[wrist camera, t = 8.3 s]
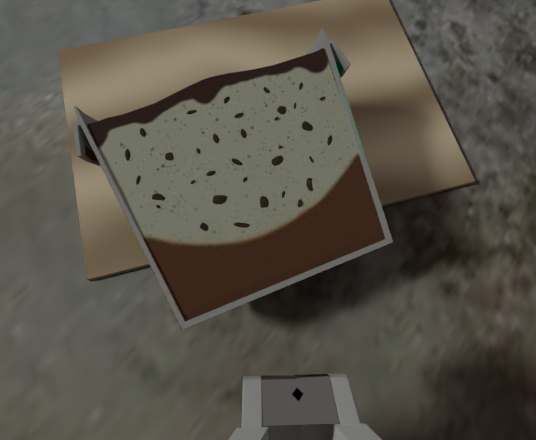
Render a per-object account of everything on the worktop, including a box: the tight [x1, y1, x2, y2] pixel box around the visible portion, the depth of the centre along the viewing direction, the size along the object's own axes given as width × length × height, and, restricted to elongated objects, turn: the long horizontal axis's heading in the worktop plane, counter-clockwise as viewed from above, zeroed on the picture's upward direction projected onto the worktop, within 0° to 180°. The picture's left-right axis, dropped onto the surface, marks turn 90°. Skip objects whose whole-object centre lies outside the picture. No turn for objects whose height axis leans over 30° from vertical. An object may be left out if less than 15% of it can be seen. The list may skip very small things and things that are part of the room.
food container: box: [73, 28, 393, 329], centre depth 19 cm, size 12×6×10 cm
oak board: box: [58, 0, 475, 281], centre depth 24 cm, size 15×22×1 cm
